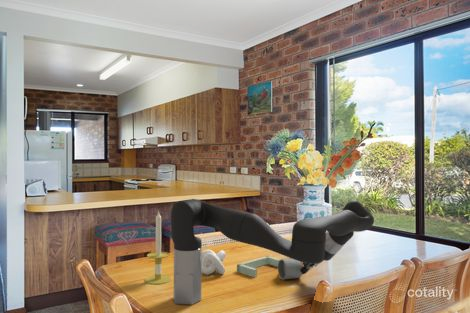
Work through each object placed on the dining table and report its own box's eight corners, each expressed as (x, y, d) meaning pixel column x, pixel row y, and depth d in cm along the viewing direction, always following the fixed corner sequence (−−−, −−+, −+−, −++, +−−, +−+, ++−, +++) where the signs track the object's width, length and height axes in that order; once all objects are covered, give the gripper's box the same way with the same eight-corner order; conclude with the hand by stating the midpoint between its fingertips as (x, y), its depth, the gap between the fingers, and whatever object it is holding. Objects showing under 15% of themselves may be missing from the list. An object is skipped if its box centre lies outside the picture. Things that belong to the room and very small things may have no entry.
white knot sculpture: (233, 275, 147) (233, 252, 147) (206, 279, 141) (206, 256, 141) (220, 267, 157) (220, 246, 157) (195, 271, 151) (195, 250, 151)
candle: (154, 274, 147) (154, 207, 147) (176, 277, 143) (176, 209, 143) (139, 282, 137) (139, 211, 137) (162, 285, 134) (162, 212, 134)
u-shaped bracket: (284, 267, 157) (284, 260, 157) (254, 277, 144) (254, 269, 144) (267, 262, 164) (267, 256, 164) (236, 271, 151) (236, 264, 151)
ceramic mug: (304, 280, 141) (304, 260, 141) (285, 282, 138) (285, 262, 138) (291, 272, 151) (291, 253, 151) (273, 274, 148) (273, 255, 148)
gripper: (325, 256, 125) (297, 284, 134) (345, 250, 134) (318, 276, 143) (312, 239, 129) (286, 267, 138) (332, 233, 138) (307, 260, 147)
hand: (302, 271), depth 140 cm, fingers closed
